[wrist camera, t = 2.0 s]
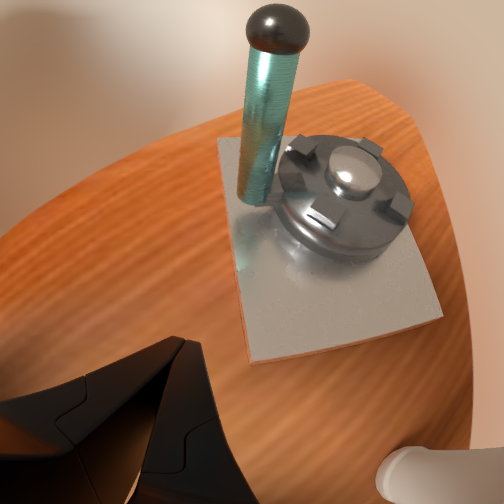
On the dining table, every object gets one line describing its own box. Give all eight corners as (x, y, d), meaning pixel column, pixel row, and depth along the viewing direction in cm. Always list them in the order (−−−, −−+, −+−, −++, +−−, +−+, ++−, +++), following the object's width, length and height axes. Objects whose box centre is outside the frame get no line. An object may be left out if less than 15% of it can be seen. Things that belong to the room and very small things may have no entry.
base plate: (431, 323, 23) (444, 315, 22) (249, 365, 21) (252, 361, 19) (356, 150, 34) (362, 138, 32) (216, 152, 31) (217, 137, 29)
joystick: (368, 158, 30) (426, 26, 16) (414, 254, 24) (528, 115, 10) (223, 160, 27) (234, -15, 13) (242, 275, 22) (280, 39, 7)
